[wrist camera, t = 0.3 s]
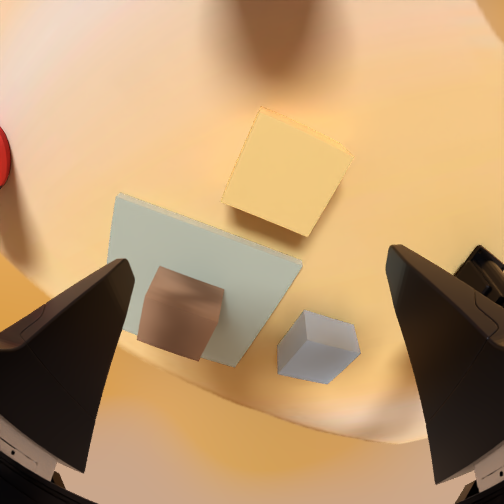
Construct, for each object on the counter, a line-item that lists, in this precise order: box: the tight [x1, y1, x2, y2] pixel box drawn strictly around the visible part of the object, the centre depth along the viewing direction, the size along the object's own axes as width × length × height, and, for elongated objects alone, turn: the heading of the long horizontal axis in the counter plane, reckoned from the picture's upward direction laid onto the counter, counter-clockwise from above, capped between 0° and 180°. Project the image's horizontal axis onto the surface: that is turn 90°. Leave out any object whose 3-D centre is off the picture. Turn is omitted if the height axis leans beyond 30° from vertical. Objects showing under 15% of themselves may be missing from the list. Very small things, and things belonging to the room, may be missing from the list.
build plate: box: [107, 193, 302, 367], centre depth 27 cm, size 16×16×1 cm
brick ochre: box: [221, 106, 354, 237], centre depth 18 cm, size 6×6×4 cm
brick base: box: [137, 266, 224, 361], centre depth 25 cm, size 6×6×4 cm
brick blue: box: [277, 310, 361, 384], centre depth 28 cm, size 6×6×4 cm
